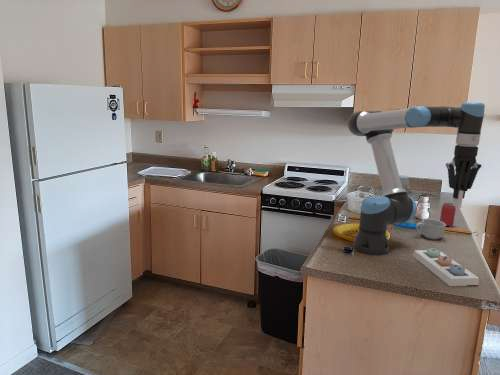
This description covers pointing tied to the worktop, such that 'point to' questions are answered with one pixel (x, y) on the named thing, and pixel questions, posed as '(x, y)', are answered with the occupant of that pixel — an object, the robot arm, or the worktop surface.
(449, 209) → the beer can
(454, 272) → the two pip button
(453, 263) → the button panel
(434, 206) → the worktop surface
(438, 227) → the teacup
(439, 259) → the three pip button
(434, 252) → the one pip button
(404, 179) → the water bottle
